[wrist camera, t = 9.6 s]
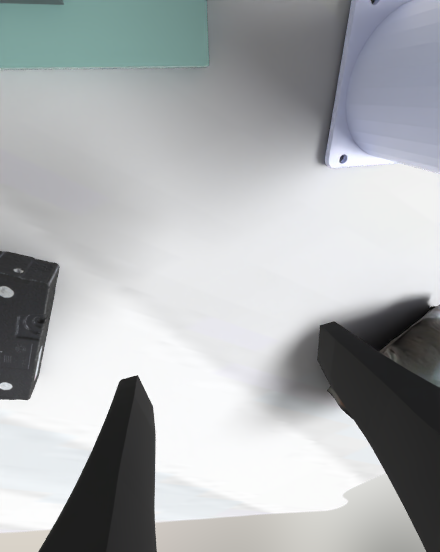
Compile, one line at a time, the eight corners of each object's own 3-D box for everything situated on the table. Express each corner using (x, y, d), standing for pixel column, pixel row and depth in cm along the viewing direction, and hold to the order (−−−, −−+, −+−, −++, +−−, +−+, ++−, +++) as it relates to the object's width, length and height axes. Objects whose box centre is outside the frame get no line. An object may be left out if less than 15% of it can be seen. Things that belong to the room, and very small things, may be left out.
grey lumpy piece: (466, 284, 27) (634, 434, 20) (387, 336, 36) (484, 447, 30) (356, 350, 21) (542, 586, 15) (297, 390, 31) (393, 542, 24)
